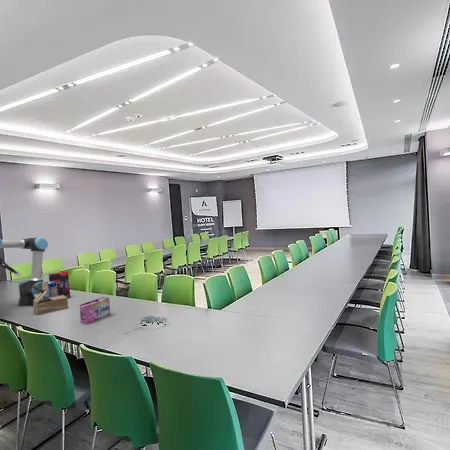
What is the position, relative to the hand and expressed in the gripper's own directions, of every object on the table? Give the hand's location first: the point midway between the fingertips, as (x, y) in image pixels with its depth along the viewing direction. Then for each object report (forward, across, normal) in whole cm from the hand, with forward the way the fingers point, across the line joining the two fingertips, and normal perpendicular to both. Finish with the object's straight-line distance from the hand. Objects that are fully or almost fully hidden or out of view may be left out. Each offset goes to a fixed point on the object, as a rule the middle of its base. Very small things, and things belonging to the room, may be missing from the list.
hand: (18, 274), depth 274 cm
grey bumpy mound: (+62, +128, +13) cm, 142 cm away
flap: (+23, +17, -5) cm, 29 cm away
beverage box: (+41, 0, -7) cm, 41 cm away
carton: (+38, +17, -10) cm, 43 cm away
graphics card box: (+50, -17, +2) cm, 53 cm away
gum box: (+51, +75, +3) cm, 91 cm away
